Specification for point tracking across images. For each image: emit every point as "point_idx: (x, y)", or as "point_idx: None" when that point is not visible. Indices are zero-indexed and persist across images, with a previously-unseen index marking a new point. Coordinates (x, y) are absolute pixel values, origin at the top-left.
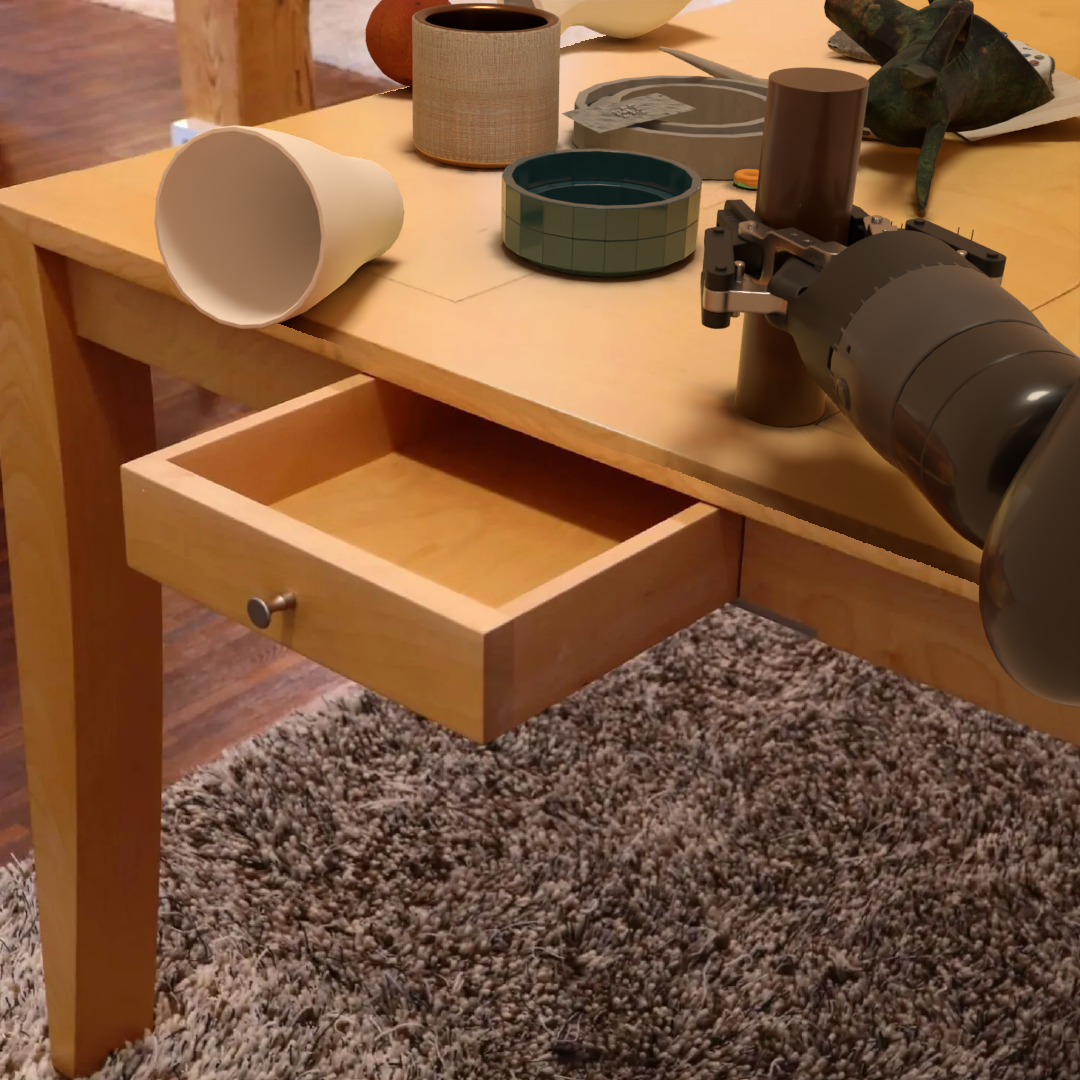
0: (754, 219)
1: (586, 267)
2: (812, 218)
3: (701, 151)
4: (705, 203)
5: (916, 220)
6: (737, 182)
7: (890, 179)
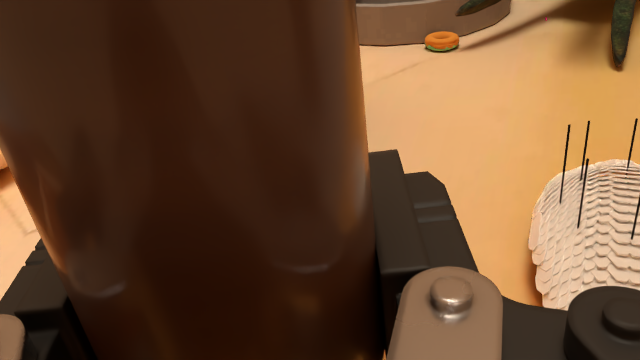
0: (46, 291)
1: None
2: (161, 337)
3: (393, 19)
4: (389, 71)
5: (613, 318)
6: (427, 45)
7: (584, 29)
